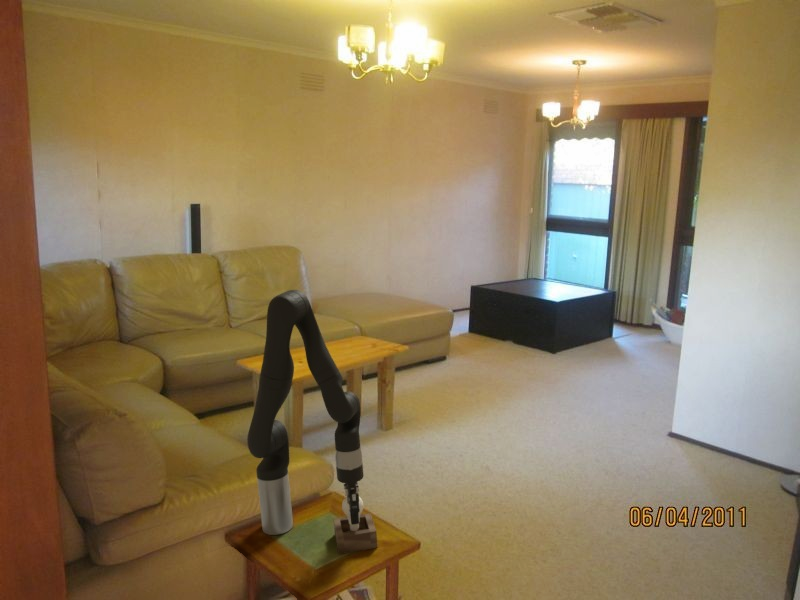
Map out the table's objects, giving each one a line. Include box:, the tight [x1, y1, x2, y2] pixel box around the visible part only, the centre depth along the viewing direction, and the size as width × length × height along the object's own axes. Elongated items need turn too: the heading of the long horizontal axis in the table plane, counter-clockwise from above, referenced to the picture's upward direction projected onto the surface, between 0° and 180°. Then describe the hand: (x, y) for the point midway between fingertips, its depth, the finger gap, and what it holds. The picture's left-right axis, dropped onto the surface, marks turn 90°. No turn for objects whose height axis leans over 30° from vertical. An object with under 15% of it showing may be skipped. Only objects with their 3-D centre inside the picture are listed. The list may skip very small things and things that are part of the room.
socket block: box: [333, 512, 378, 555], centre depth 187 cm, size 11×11×5 cm
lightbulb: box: [341, 496, 365, 532], centre depth 186 cm, size 6×6×11 cm
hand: (353, 518), depth 186 cm, fingers closed on lightbulb, 6 cm apart
